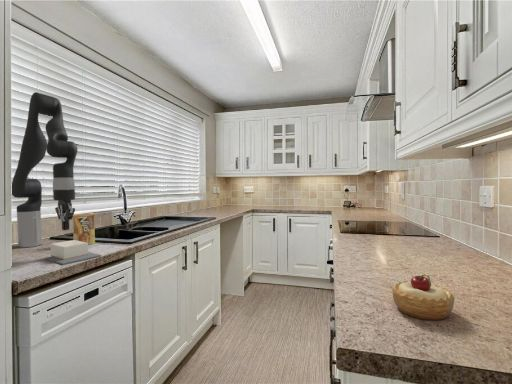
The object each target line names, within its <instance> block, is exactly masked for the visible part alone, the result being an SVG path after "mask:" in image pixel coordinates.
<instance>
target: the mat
mask: <svg viewBox="0 0 512 384" xmlns="http://www.w3.org/2000/svg"><path fill="white" fill-rule="evenodd" d="M100 257H102V254H99V253H95V252H90V251H88V255H85V256H80V257H76V258H71V259H66V260H63V259H59V258H56V257H53V256H51V255H50V256H47V257H45V258H44V259H45V260H46V261H50V262H53V263H57V264H58V265H59V264H60V265H62V266H65V265H69V264H73V263H80V262H82V261H87V260H91V259H96V258H100Z"/></svg>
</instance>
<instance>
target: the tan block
mask: <svg viewBox="0 0 512 384" xmlns="http://www.w3.org/2000/svg"><path fill="white" fill-rule="evenodd" d="M49 245H50V257H51V256H53V257H56V258H59V259H63V260H66V259H71V258H76V257H80V256H85V255H88V252H89V245H88V243H86V242H81V241H77V240H67V241H60V242H59V241H58V242H53V243H50V244H49Z"/></svg>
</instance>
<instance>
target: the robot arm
mask: <svg viewBox="0 0 512 384" xmlns="http://www.w3.org/2000/svg"><path fill="white" fill-rule="evenodd" d="M61 103H62V102H61V101H60V99H58V98H57V97H55V96H51V95H48V94H44V93H41V92H36V91H35V92H33V93H32V94H31V96H30V100H29V107H28V115H27V120H26V121H27V123H26V127H25V132H24V136H23V140H22V143H21V147H20V154H19V158H18V162H17V166H16V169H15V172H14V175H13V178H12V181H11V184H12V193H11V195H12V196H13V198H17V199H19V198H20V199H21V198H22V199H24V198H27V200H26V202H23V203H21V204H19V205H17V206H16V222H17V223H16V224H17V242H18V243H17V246H18V248H30V247H31V248H32V247H37V246H41V245H43V238H42V237H43V234H42V231H43V230H42V215H41V214H42V213H41V212H42V211H41V210H42V209H41V207H42V203H43V202H42V197H43V192H42V191H43V188H42V187H43V186H42V183H41V181H40V180H39V179H37V178H28V177H29V175H30V173H31V171H32V170H33V169H34V168H35V167H37V165H39V164H40V162H41V161H43V159H44V158H45V156H46V153H47V155H49V156H50V157H51V158H59V159H60V158H63V159H65V158H66V159H65V161H64V162H58V163H55V164H53V165H52V177H53V178H52V196H53V197H52V198H53V201H58V202H57V206H56V207H55V208H54V210H55V213H56V215H57V218H58V220H60V222H61V230H62V231H68V230H70V221H72V220H73V215H75V211H76V208H75V207H73V204H72V201H73V200H76V193H75V192H76V188H75V187H76V186H75V177H74V167H75V166H74V165H75V161H76V157H77V154H78V149H79V148H78V146H77V144H76V143H75V142H74V141H71V140H70V141H69V136H68V134H67V130H66V128H65V124H64V115H63V109H62V108H63V107H62V104H61ZM39 115H41V116H43V115H44V116H46V117H52V118H51V119H49V120H48V121H47V122H46V124H45V132H46V136H47V138H46V136H45V134H44V132H43V130H42V128H41V125H40V122H39Z"/></svg>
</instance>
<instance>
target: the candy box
mask: <svg viewBox="0 0 512 384" xmlns="http://www.w3.org/2000/svg"><path fill="white" fill-rule="evenodd" d="M95 233H96V232H95V213H92V212H91V213H79V214H77V213H76V214H75V213H74V215H73V217H72V234H73V235H72V237H73V238H72V239H73V240H77V241H81V242H86V243H88V246H89V245H95V244H96V236H95V235H96V234H95Z"/></svg>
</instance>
